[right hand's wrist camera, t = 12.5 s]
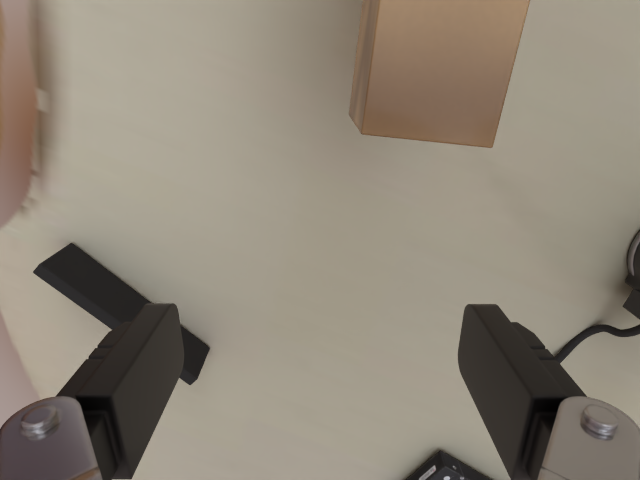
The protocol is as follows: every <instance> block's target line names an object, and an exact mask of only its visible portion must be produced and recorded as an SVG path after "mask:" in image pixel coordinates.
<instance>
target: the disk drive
mask: <svg viewBox="0 0 640 480" xmlns="http://www.w3.org/2000/svg"><path fill="white" fill-rule="evenodd" d="M407 480H491V479H489V478H487V477H486V476H484V475H482V474H481V473H479V472H477V471H476V470H474V469H472V468H471V467H469V466H467V465H465V464H464V463H462V462H460V461H458V460H457V459H455V458H453V457H451V456H449V455H447V454H446V453H443V452H442V451H439V452H438V453H437V454H436V455H434V456H433V457H432V458H430V459H429V460H428V461H427V462H426V463H425V464H424V465H423V466H421V467H420V468H419V469H418V470H417V471H416V472H415V473H414V474H412V475H411V476H410V477H409V478H408V479H407Z"/></svg>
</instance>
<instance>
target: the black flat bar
mask: <svg viewBox="0 0 640 480" xmlns="http://www.w3.org/2000/svg"><path fill="white" fill-rule="evenodd" d="M33 273H34V274H36V275H37V276H38V277H40V278H41V279H43V280H44V281H45V282H47V283H48V284H50V285H51V286H52V287H54V288H55V289H56V290H58V291H59V292H61V293H62V294H63V295H65V296H66V297H68V298H69V299H70V300H72V301H73V302H75V303H76V304H77V305H79V306H80V307H82V308H83V309H84V310H86V311H87V312H89V313H90V314H91V315H93V316H94V317H95V318H97V319H98V320H100V321H101V322H102V323H104V324H105V325H107V326H108V327H109V328H111V329H112V330H113V329H115V328H116V327H118V326H119V325H121V324H122V323H124V322H132V321H133V319H134V318H135V317H136V315H137V314H138V313H139V311H140V310H141V309H142V308H143V306H144V305H145V304H151V303H150V302H149V301H147V300H146V299H145V298H144V297H142V296H141V295H140V294H138V293H137V292H136V291H134V290H133V289H132V288H130V287H129V286H128V285H126V284H125V283H124V282H122V281H121V280H120V279H119V278H117V277H116V276H115V275H113V274H112V273H111V272H109V271H108V270H107V269H105V268H104V267H103V266H101V265H100V264H99V263H97V262H96V261H95V260H94V259H92V258H91V257H90V256H88V255H87V254H86V253H84V252H83V251H82V250H80V249H79V248H78V247H76V246H75V245H74V244H73V243H70V244H69V245H67V246H66V247H64V248H63V249H61V250H60V251H58V252H57V253H55V254H54V255H52V256H51V257H49V258H48V259H46V260H45V261H43V262H42V263H40V264H39V265H38V267H37V268H36V269H35V270H34V271H33ZM180 327H181V334H182V341H183V347H184V363H183V368H182V372H181V374H180V377H179V378H181V379H182V380H183V381H185V382H186V383H187V384H189V385H191V384H192V383H193V382H195V381H196V380H197V379H198V376H199V374H200V371H201V369H202V366H203V364H204V361H205V359H206V356H207V354H208V351H209V349H210V348H209V347H208V346H207V345H205V344H204V343H203V342H201V341H200V340H199V339H197V338H196V337H195V336H194V335H192V334H191V333H190V332H188V331H187V330H186V329H184V328H183V327H182V326H180Z"/></svg>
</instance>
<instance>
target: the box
mask: <svg viewBox="0 0 640 480" xmlns="http://www.w3.org/2000/svg"><path fill="white" fill-rule="evenodd" d="M529 2H530V0H363V4H362V12H361V20H360V28H359V36H358V44H357V53H356V61H355V69H354V77H353V85H352V93H351V102H350V110H349V116H350V117H351V119H352V120H353V122H354V123H355V125H356V126H357V128H358V129H359V131H360V132H361V134H364V135H373V136H383V137H392V138H402V139H411V140H421V141H430V142H440V143H449V144H459V145H468V146H478V147H487V148H492V147H493V143H494V140H495V136H496V132H497V128H498V124H499V120H500V116H501V112H502V108H503V104H504V100H505V96H506V93H507V89H508V85H509V81H510V77H511V73H512V69H513V65H514V61H515V57H516V53H517V49H518V45H519V42H520V38H521V34H522V30H523V26H524V22H525V18H526V14H527V10H528V6H529Z"/></svg>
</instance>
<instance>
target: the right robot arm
mask: <svg viewBox="0 0 640 480" xmlns="http://www.w3.org/2000/svg"><path fill="white" fill-rule="evenodd" d="M627 262H628V270H629V275H628V277H627V279H626V280H625V283H626V284H628V285H629V286H631V287H632V288H634V289H633V291H632V292H631V294H630V296H629V297H628V299H627V300H626V302H625V304H624V305H623V307H624V308H625V309H627V310H628V311H629V312H631V313H632V314H633V315H635V316H636V317H637V318H639V319H640V231H639V233H638V234H637V235H636V237H635V238H634V240H633V242H632V244H631V247H630V250H629V253H628V260H627ZM599 332H608V333H610V334H612V335H615V336H618V337H630V336H635V335H638V334H640V325H638V326H635V327H633V328H629V329H624V330H620V329H617V328H615V327H612V326H610V325H597V326H593V327H590V328H588V329H586V330H584V331H583V332H581V333H580V334H578V335H577V336H576V337H574V338H573V339H572V340H571V341H570V342H569V343H568V344H567V345H566V346H565V347H564V348H563V349H562V350H561V351H560V352H559V354H558V355H557V356H555V357H553V355H552V354H551V353H550V352H549V351H548V349H545V346H544V345H543V343H542V342H541V341H540V340H539V339H538V337H537V336H536V335H535V334H534V333H533V332H531V331H530V330H528V329H527V328H525V327H524V326H522V325H520V324H519V323H517V322H510V321H509V319H508V318H507V317H506V315H505V314H504V313H503V312H502V310H501V309H500V308H499V307H498V305H496V304H468V305H467V306H466V307H465V310H464V315H463V322H462V329H461V335H460V342H459V349H458V364H459V369H460V372H461V375H462V377H463V379H464V381H465V384H466V386H467V388H468V390H469V392H470V394H471V396H472V398H473V400H474V402H475V405H476V407H477V409H478V411H479V413H480V415H481V417H482V419H483V421H484V424H485V426H486V428H487V430H488V432H489V434H490V436H491V438H492V440H493V442H494V445H495V447H496V449H497V451H498V453H499V455H500V457H501V459H502V461H503V464H504V466H505V468H506V470H507V472H508V474H509V476H510V478H511V480H640V429H639V427H638V425H637V424H636V423H635V422H634V421H633V420H632V419H631V418H630V417H629V416H628V415H626V414H625V413H624V412H622V411H621V410H619V409H618V408H616V407H614V406H612V405H610V404H608V403H606V402H603V401H600V400H597V399H594V398H590V397H587V396H586V395H585V394H584V393H583V391H582V390H581V389H580V388H579V387H578V385H577V384H576V383H575V382H574V381H573V379H572V378H571V377H570V376H569V375H568V373H567V372H566V371H565V370H564V369H563V367H562V366H561V365H560V363H561V362H562V361H563V360H564V359H565V358H566V357H567V356H568V354H569V353H570V352H571V351H572V350H573V349H574V348H575V347H576V346H577V345H578V344H579V343H580V342H581V341H583V340H584V339H586V338H587V337H589V336H591V335H593V334H596V333H599ZM183 363H184V347H183V341H182V334H181V327H180V320H179V314H178V309H177V306H176V305H175V304H145V305H144V306H143V308H142V309H141V310H140V311H139V313H138V314H137V315H136V317H135V318H134V319H133V321H132V322H124V323H122V324H121V325H119V326H118V327H116V328H115V329H113V330H112V331H110V332H109V333H108V334H107V335H106V336H105V337H104V339H103V340H102V341H101V342H100V343H99V345H98V348H95V349H94V351H93V352H92V353H91V354H90V356H89V359H86V360H85V362H84V363H83V364H82V365H81V366H80V368H79V369H78V370H77V371H76V372H75V374H74V375H73V376H72V377H71V378H70V380H69V381H68V382H67V383H66V385H65V386H64V387H63V388H62V389H61V391H60V392H59V393H58V394H57V395H56V397H50V398H46V399H43V400H40V401H37V402H34V403H32V404H30V405H28V406H26V407H24V408H22V409H21V410H19V411H18V412H16V413H15V414H14V415H12V416H11V417H10V418H9V419H8V420H7V421H6V422H5V423H4V424H3V425H2V427H1V429H0V480H112V479H132V477H133V475H134V473H135V470H136V468H137V466H138V464H139V462H140V460H141V458H142V456H143V453H144V451H145V449H146V447H147V445H148V443H149V441H150V438H151V436H152V434H153V432H154V430H155V428H156V426H157V424H158V421H159V419H160V417H161V415H162V413H163V411H164V409H165V406H166V404H167V402H168V400H169V398H170V396H171V394H172V392H173V389H174V387H175V385H176V383H177V381H178V379H179V377H180V374H181V372H182V368H183Z"/></svg>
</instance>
